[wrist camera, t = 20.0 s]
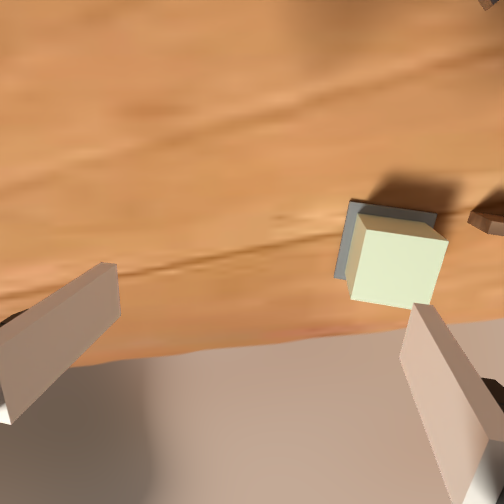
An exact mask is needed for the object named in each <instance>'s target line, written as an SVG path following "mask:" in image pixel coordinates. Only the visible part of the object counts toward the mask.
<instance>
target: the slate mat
mask: <svg viewBox="0 0 504 504" xmlns="http://www.w3.org/2000/svg"><path fill="white" fill-rule="evenodd" d="M357 213H360V214H368V215H375V216H382V217H389V218H396V219H404V220H411V221H418V222H425V223H426V224H427V225H429V226H430V227H431V228H433V227H434V224H435V221H436V217H437V214H436V213H431V212H424V211H417V210H410V209H403V208H396V207H389V206H381V205H374V204H367V203H360V202H353V201H349V206H348V211H347V216H346V220H345V225H344V230H343V235H342V239H341V244H340V249H339V254H338V258H337V263H336V268H335V273H334V278H337V279H343V280H346V276H345V269H346V264H347V259H348V255H349V250H350V245H351V240H352V236H353V231H354V226H355V222H356V217H357Z"/></svg>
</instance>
